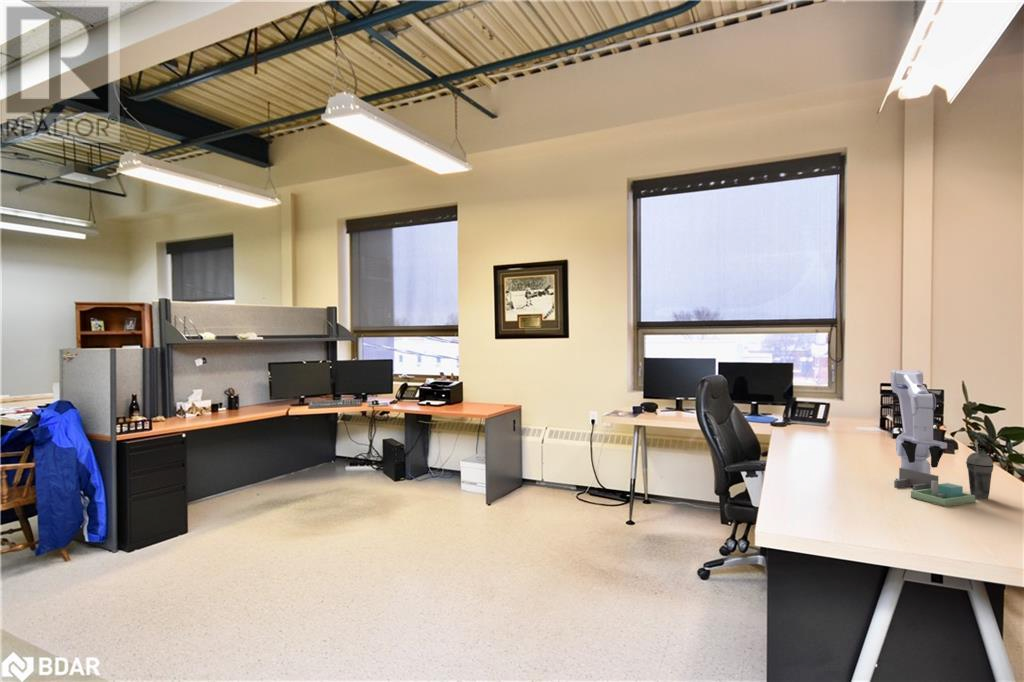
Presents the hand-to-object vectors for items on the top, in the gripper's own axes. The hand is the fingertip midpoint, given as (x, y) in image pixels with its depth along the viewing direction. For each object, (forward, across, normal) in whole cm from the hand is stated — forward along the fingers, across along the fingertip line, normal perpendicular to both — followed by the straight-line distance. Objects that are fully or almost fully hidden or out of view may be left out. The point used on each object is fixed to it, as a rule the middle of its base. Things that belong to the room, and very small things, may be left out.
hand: (922, 464), depth 189 cm
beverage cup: (+10, +12, +10) cm, 18 cm away
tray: (+9, +10, -5) cm, 14 cm away
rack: (+9, -3, -2) cm, 10 cm away
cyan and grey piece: (+9, +9, -4) cm, 14 cm away
